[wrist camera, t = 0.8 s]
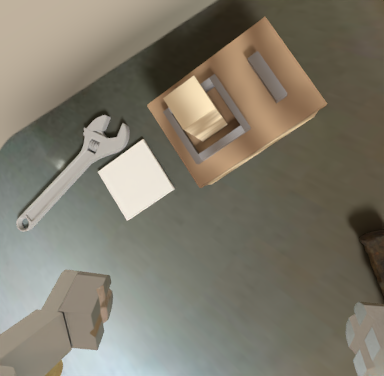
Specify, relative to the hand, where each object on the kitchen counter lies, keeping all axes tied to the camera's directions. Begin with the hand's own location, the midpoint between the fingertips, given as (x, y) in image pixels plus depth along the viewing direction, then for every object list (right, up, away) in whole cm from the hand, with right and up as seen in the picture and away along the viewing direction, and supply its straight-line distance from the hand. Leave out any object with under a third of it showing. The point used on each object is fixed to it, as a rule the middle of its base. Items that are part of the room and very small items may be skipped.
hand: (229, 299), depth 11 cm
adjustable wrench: (-21, +6, +44) cm, 50 cm away
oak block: (+1, +12, +30) cm, 32 cm away
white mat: (-10, +5, +41) cm, 43 cm away
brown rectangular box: (+5, +14, +38) cm, 40 cm away
